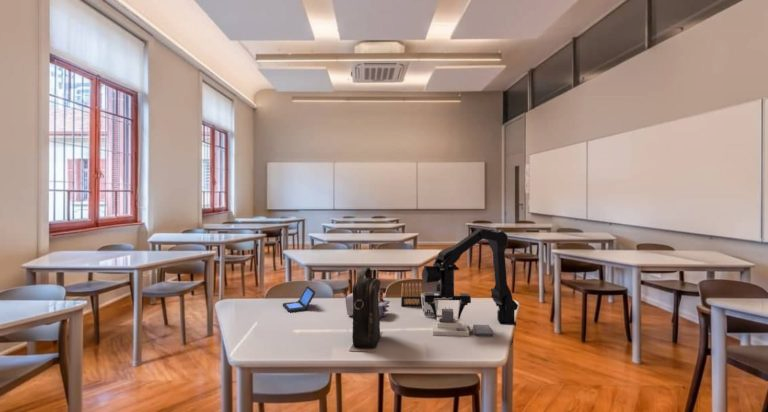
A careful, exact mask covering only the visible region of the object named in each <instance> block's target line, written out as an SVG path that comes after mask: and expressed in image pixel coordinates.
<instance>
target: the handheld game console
mask: <svg viewBox="0 0 768 412" xmlns="http://www.w3.org/2000/svg"><path fill="white" fill-rule="evenodd" d="M315 295H316V291H315V290H314V289H312V288H311V287H310V286H308V285H307V286H306V287H305V289H304V290H303V293H302V294H301V296H300V298H299V299H298V300H297V301H291V302H285V303H284V302H283V303H282V306H283V307H284V309H285V310H286V312H287V313H289V312H292V313H298V312H299V311H300V312H307V311H308V307H309V306H310V304H311V302H312V300H313V299H314V297H315Z"/></svg>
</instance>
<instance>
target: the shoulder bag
mask: <svg viewBox="0 0 768 412" xmlns="http://www.w3.org/2000/svg"><path fill="white" fill-rule="evenodd" d="M381 284H382V283H381V280H380V279H378V278H374V277H372V270H371V268H370V267H367V266H365V267H360V268H359V269H358V271H357V274H356V282H355V283H354V284H353V285H352V293H353V316H352V345H351V346H350V348H349V350H348V351H350V352H351V351H352V352H367V353H368V352H370V353H373V352H375V351H376V350H377V347H378V344H379V343H380V339H381V337H382V335H383V331H381V326H380V325H381V322H380V321H381V317H380V315H379V302H378V301H379V297H380V296H379V293H380V287H381Z"/></svg>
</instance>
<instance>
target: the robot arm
mask: <svg viewBox="0 0 768 412" xmlns="http://www.w3.org/2000/svg"><path fill="white" fill-rule="evenodd" d="M508 239H509V238H508V234H507V233H505V231H501V230H500V231H498V230H492V231H489V230H486V229H484V228H476V229H475V230H474V231H473V232H471V233H470V234H468V235H467V236H466V237H464V238H463V239H462V240H460V241H459V242H458V243H456V244H455V245H453V246H450V247H446V248H444V249H443V250H440V251H439V252H438V253H437V254H438V255H437V258H436V259H435V261H434V262H433V264H432V265H423V269H422V271H421V279H422V281H423V283H426V284H427V283H437V282H440V283H437V284H436V289H435V290H436V292H424V293H425V302H428V304H429V305H431V307H432V309H433V312H434V315H435V317H434V318H435V319H436V320H437V317H438V316H437V313H436V307H435V300H438V301H459V302H458V311H457V320H460V318H461V315H462V312H463V311H464V308H465V306H468V305H469V304H471V303H472V297H471V295H470V294H469V293H466V292H464V293H459V295H455V271H459V270H460V268H459V267H458V266H457V265H456V263H457V261H459V260H460V258H461V256H462V255H463V254H464V253H465V252H467V251H468V250H469V249H471V248H472V247H474V246H475V245H476V244H478V243H479V242H480V241H482V240H487V241H488V245H489V248H490V250H491V251H492V256H493V259H492V260H493V269H494V282H495V284H494V287H493V288H490V292H491V296H490V297H491V298H492V300H493V302H494V303H495V306H496V307H498V309H497V311H496V314H497V316H496V318H497V321H498V324H500V325H501V324H502V325H516V321H515V319H516V317H515V315H516V314H515V311H516V310H518V307H519V305H518V303H517V302H515V300H514V299H513V295H512V291H511V289H510V288H509V286H508V279H507V278H508V277H507V266H506V255H505V254H506V249H507V247H508ZM434 293H439V295H434Z"/></svg>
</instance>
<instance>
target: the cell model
mask: <svg viewBox="0 0 768 412" xmlns="http://www.w3.org/2000/svg"><path fill="white" fill-rule="evenodd" d="M378 299H379V301H378V302H379V315H380V318H382V317H384V316H386V315H387V314H386V313H387V312H389V309H387V308H390V305H389V304H390V300H386V299H384V298H383V297H382V296H379V298H378ZM345 308H346V309H345V310H346V314H347V316H351V317H353V292H352V293H349V294H347V295H346V297H345Z"/></svg>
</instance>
